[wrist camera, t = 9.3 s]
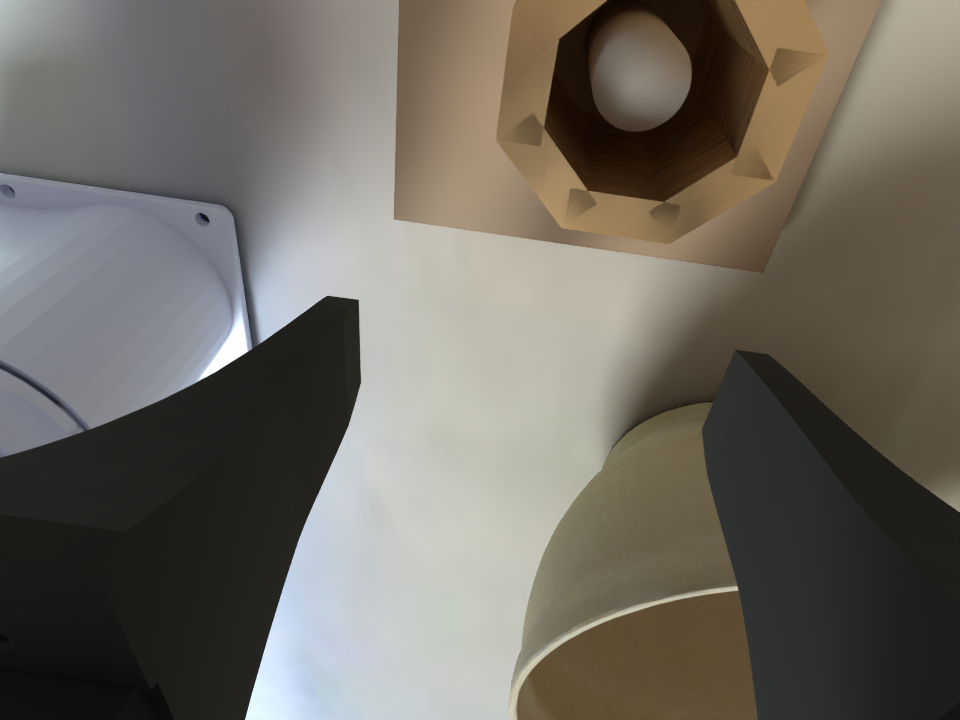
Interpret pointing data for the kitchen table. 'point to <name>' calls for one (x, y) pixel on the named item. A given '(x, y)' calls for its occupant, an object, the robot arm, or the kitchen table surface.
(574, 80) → the pin block
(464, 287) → the kitchen table surface
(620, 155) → the octagonal wooden tube
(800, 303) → the kitchen table surface
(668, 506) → the planter bowl
